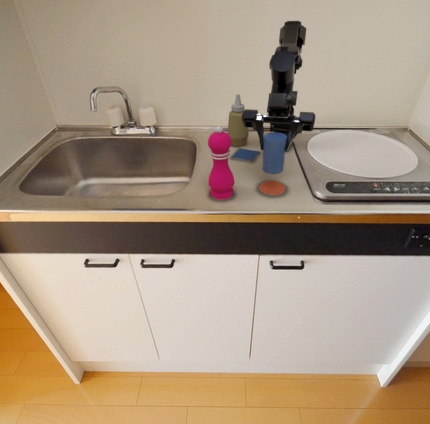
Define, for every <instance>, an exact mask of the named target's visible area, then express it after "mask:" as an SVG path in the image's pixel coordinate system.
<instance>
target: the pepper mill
mask: <svg viewBox="0 0 430 424" xmlns="http://www.w3.org/2000/svg"><path fill="white" fill-rule="evenodd" d="M223 130H224V128H223V127H222V126H220V125H218V126H216V127H215V131H214V132H212V133H210V135H209V136H208V139H207V146H208V148H209V149H210V158H212V168H211V170H210V173H209V175H208V186H209V188H210V196H211V197H212V198H213V199H216V200H227V199H229V198H231V197H232V196H233V194H234V189H233V187H234V185H235V177H234V174H233V172H232V170H231V168H230V165H229V157H231V153H230V152H231V151H230V149H231V147H232V145H231V143H232V142H231V137H230V136H229V135H228V132H226V131H223Z"/></svg>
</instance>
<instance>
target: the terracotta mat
mask: <svg viewBox="0 0 430 424" xmlns="http://www.w3.org/2000/svg"><path fill="white" fill-rule="evenodd" d="M258 189H259V191H260V192H261V193H263V194H265V195H267V196H268V195H269V196H277V195H281V194H283V193H284V192H285V191H286V186H285V185H284V183H282V182H279V181H276V180H267V181H263V182H262V183H260V184H259V187H258Z"/></svg>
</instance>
